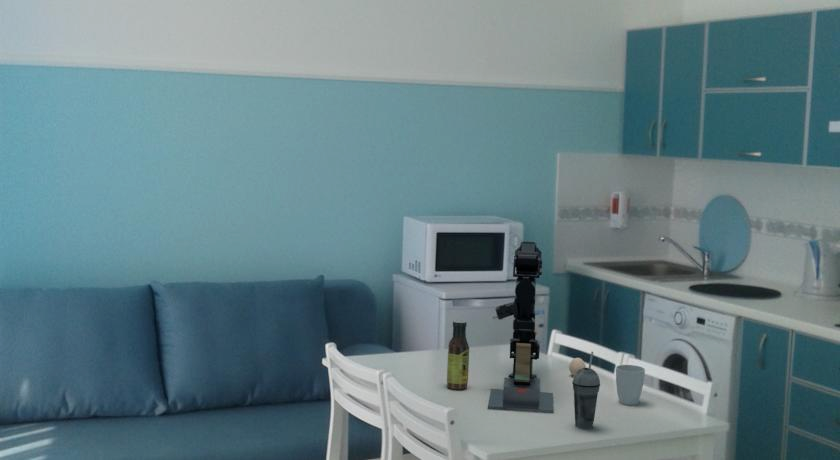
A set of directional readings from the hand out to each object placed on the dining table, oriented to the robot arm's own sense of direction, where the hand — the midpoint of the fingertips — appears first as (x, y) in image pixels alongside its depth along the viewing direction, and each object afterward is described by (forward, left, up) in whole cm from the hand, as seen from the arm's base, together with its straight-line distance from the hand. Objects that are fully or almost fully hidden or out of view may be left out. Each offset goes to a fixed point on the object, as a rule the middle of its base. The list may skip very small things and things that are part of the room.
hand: (523, 347), depth 294 cm
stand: (+10, +6, -13) cm, 17 cm away
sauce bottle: (+10, -16, -13) cm, 23 cm away
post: (+10, +6, -8) cm, 14 cm away
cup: (-11, +29, -13) cm, 34 cm away
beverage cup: (+18, +30, -13) cm, 37 cm away
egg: (-27, +4, -13) cm, 30 cm away
